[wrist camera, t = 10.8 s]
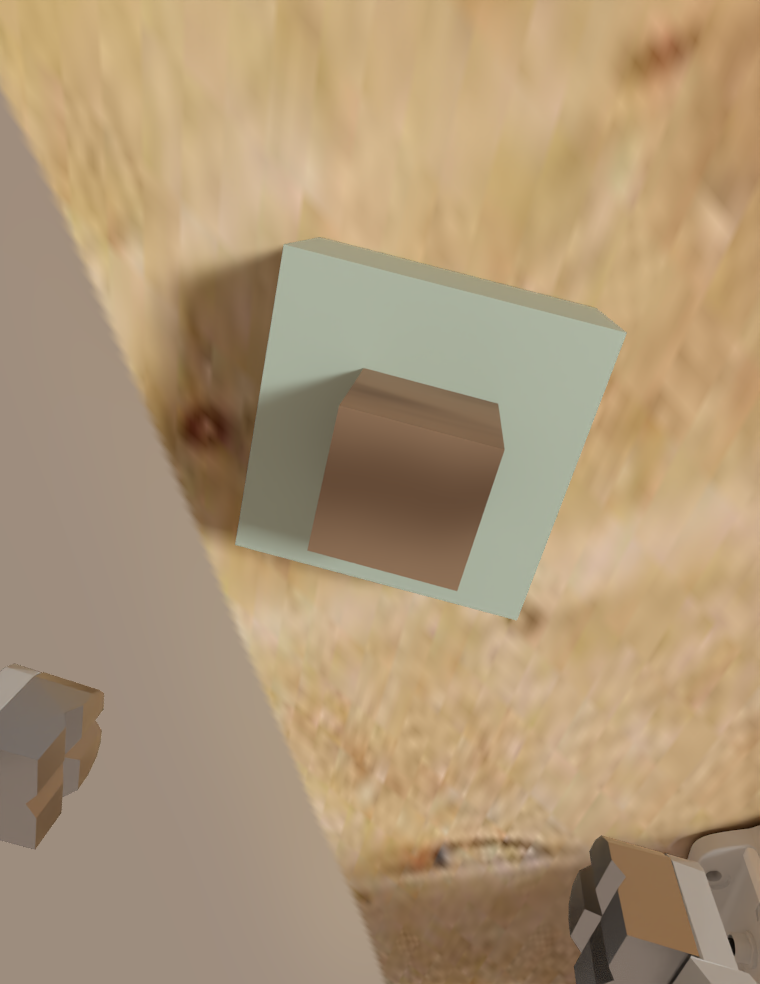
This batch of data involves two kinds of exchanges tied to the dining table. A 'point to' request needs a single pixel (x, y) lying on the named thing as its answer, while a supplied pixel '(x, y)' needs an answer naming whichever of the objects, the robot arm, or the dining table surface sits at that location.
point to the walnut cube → (407, 478)
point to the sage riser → (432, 361)
